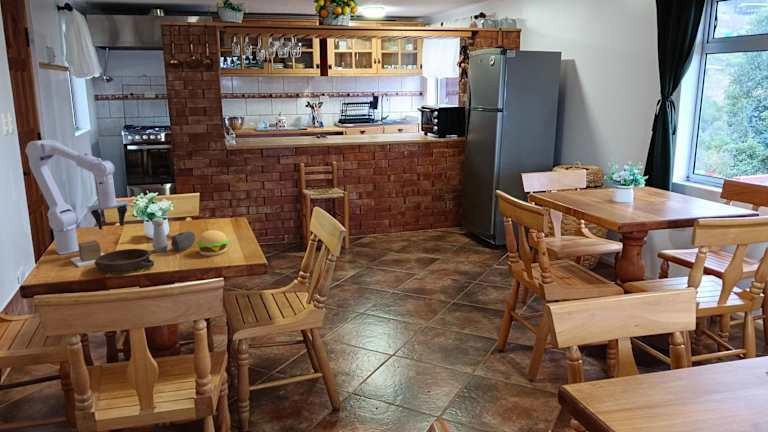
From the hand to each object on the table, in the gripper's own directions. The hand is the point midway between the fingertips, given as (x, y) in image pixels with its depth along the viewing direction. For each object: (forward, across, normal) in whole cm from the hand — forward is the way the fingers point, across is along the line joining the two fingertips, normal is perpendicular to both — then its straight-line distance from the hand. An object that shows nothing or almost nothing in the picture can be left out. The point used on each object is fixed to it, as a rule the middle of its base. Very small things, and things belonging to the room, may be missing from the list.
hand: (111, 227), depth 224 cm
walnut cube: (+9, -10, -6) cm, 15 cm away
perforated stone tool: (+10, +22, -15) cm, 29 cm away
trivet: (+10, -10, -6) cm, 15 cm away
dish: (+10, -3, -24) cm, 27 cm away
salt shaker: (+10, +14, -11) cm, 21 cm away
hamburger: (+10, +28, -28) cm, 41 cm away
